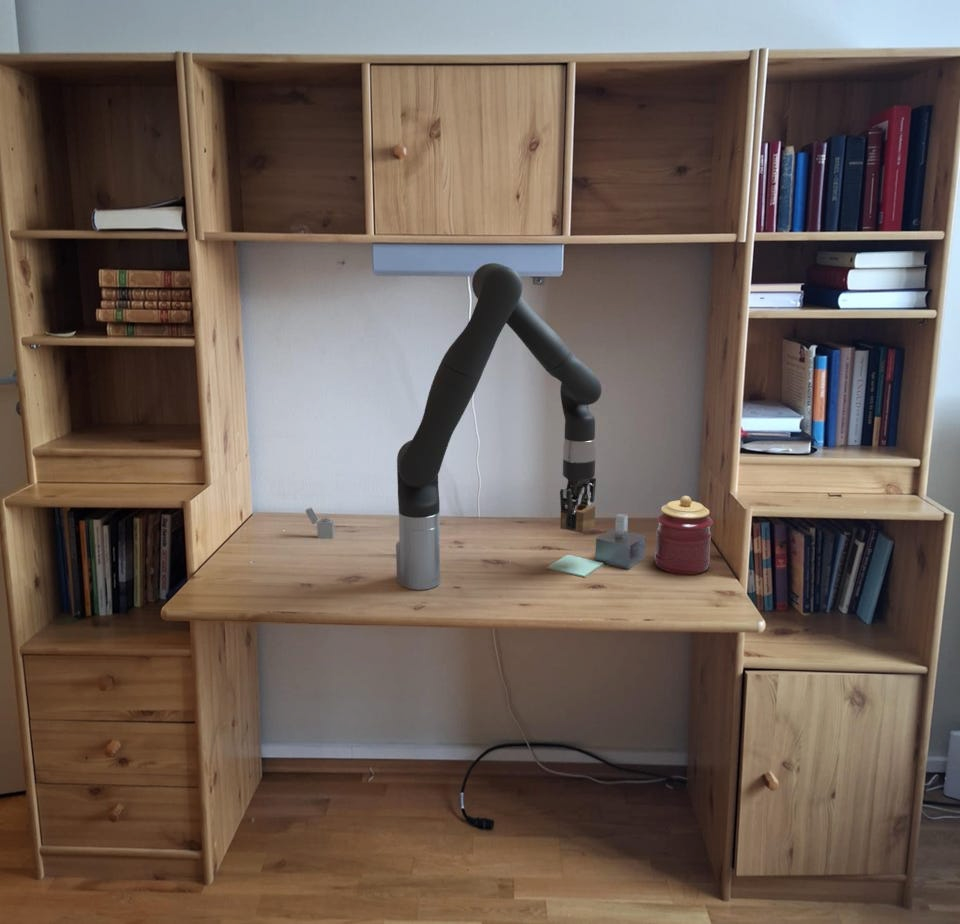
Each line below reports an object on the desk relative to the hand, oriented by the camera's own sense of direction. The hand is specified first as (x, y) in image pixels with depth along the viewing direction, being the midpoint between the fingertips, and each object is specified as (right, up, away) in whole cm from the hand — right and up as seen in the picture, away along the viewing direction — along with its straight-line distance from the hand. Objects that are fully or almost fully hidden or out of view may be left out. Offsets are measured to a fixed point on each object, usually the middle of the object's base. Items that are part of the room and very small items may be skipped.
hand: (577, 524), depth 209 cm
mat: (0, -10, +3) cm, 11 cm away
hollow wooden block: (0, -1, 0) cm, 1 cm away
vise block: (+11, -9, +7) cm, 16 cm away
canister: (+26, -10, +4) cm, 28 cm away
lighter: (-66, -5, +23) cm, 70 cm away
